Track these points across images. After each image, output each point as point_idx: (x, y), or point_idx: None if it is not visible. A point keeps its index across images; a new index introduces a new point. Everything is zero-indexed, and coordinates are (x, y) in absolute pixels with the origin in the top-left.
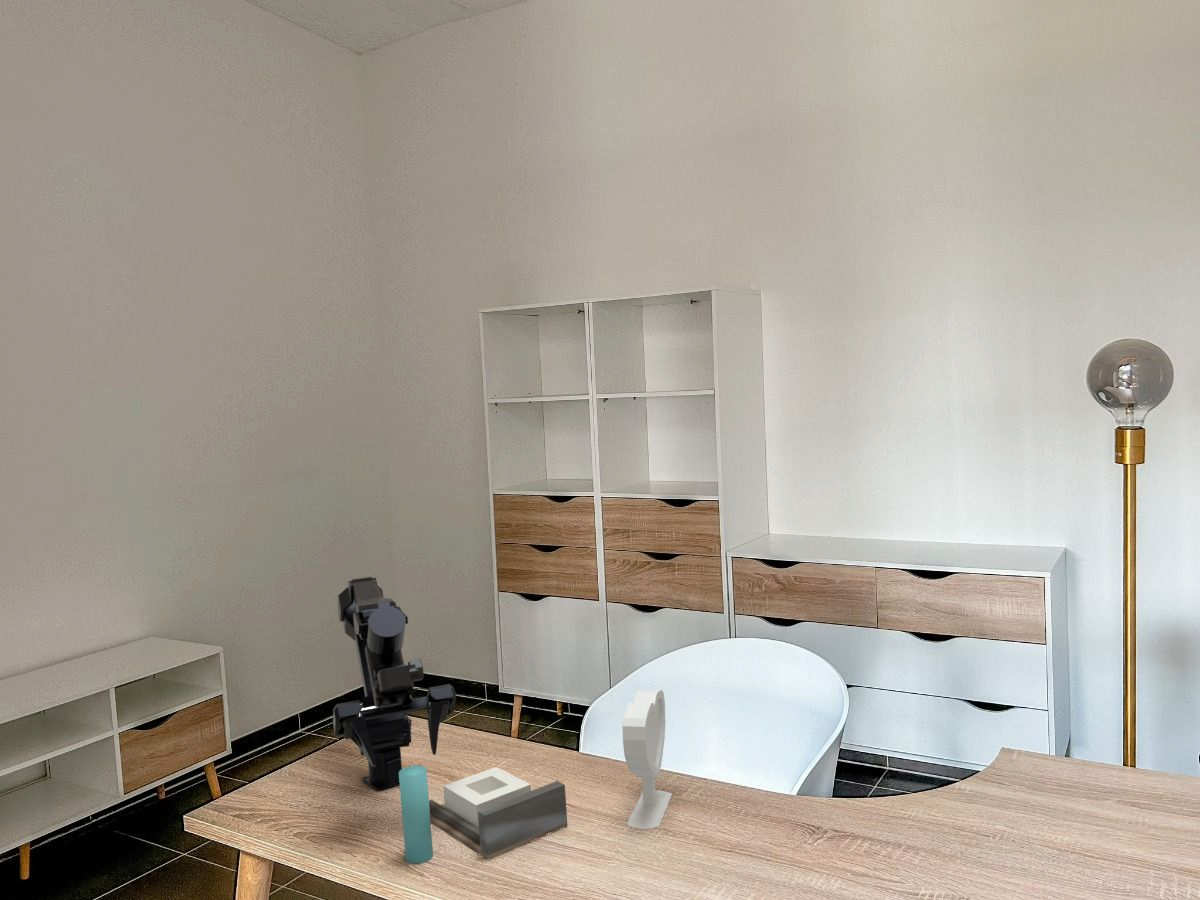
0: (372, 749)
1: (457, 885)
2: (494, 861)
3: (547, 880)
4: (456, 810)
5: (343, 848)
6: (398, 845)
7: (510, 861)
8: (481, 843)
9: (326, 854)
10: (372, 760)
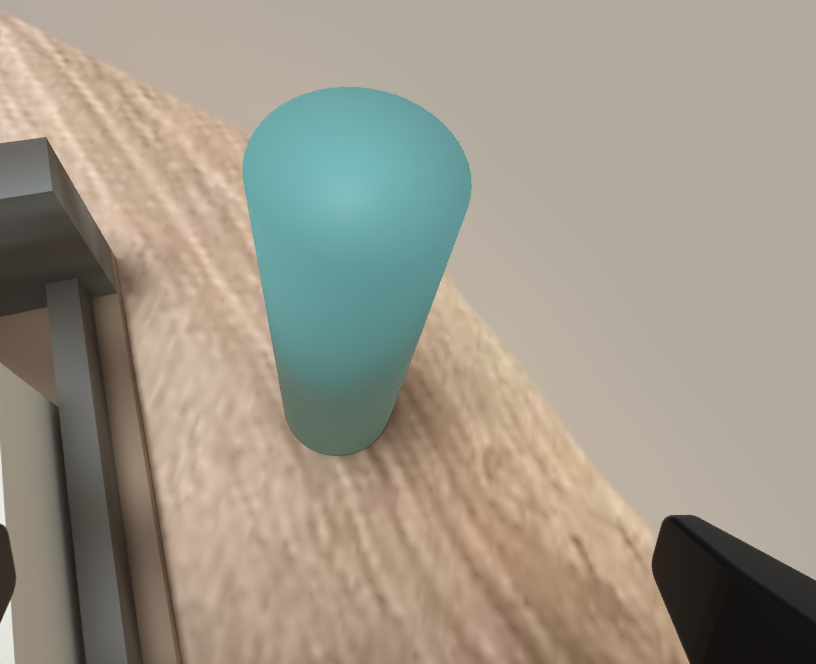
0: (792, 606)
1: None
2: None
3: (17, 70)
4: (61, 604)
5: (627, 643)
6: (398, 547)
7: None
8: (105, 264)
9: None
10: (716, 527)
